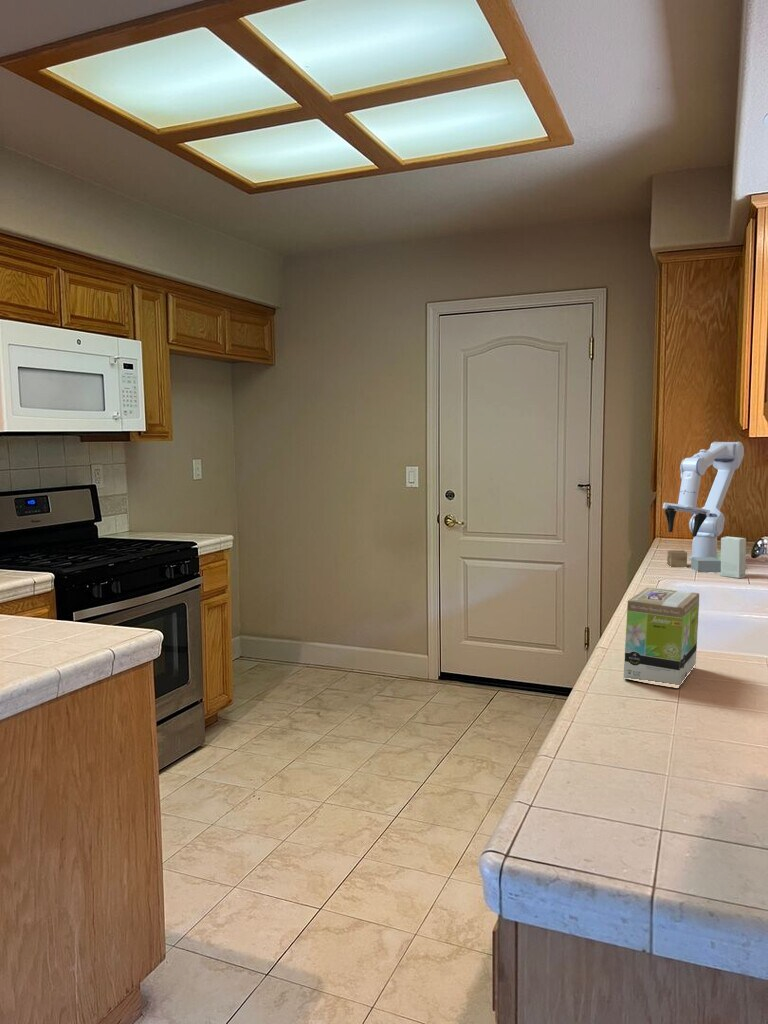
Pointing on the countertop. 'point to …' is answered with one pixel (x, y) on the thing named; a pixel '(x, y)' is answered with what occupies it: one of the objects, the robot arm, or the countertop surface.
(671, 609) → the tea box
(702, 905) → the countertop surface
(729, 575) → the skincare box
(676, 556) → the walnut cube
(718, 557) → the sage cube
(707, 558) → the slate block
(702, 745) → the countertop surface
